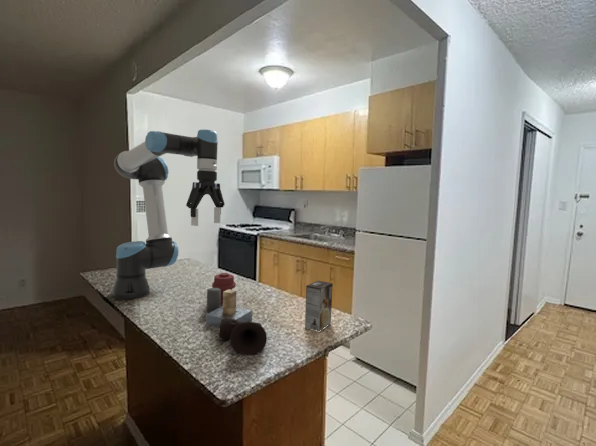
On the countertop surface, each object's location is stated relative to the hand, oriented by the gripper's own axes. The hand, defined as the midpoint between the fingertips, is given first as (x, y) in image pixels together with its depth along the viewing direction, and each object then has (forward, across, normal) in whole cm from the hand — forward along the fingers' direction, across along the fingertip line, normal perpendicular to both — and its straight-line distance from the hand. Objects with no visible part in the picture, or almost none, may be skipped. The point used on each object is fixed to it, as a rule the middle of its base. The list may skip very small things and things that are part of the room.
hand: (206, 224), depth 134 cm
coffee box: (+35, +6, -47) cm, 59 cm away
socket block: (+35, -7, -17) cm, 39 cm away
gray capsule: (+35, -1, -5) cm, 35 cm away
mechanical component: (+35, +11, -1) cm, 37 cm away
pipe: (+35, -19, -30) cm, 50 cm away
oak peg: (+35, -7, -17) cm, 39 cm away
